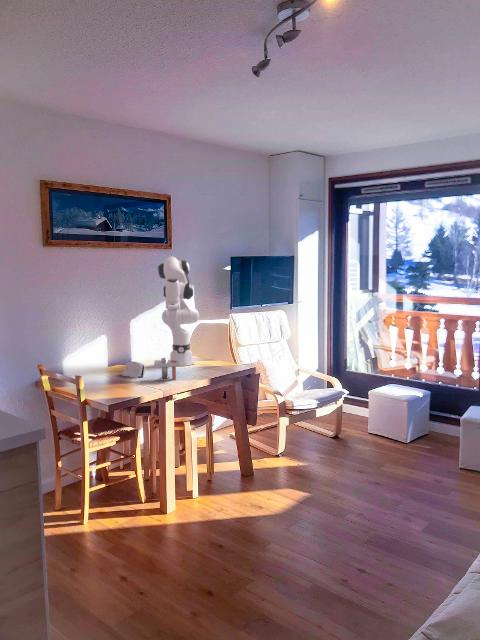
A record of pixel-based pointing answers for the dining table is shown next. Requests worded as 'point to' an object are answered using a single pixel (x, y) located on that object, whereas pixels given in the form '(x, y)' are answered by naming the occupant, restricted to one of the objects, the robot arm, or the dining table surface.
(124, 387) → the dining table surface
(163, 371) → the grey t-bar
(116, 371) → the dining table surface
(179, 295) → the robot arm
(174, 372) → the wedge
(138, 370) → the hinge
